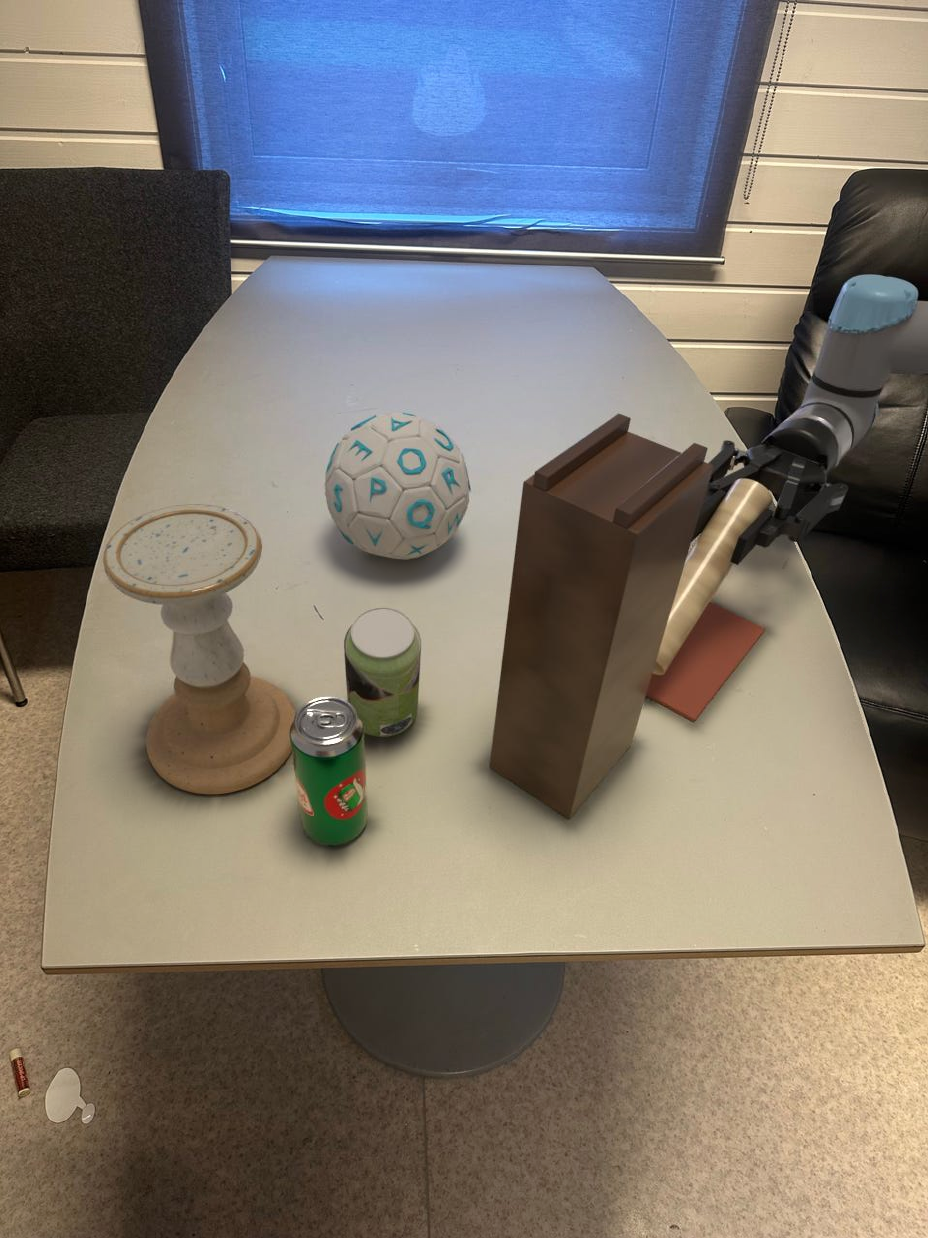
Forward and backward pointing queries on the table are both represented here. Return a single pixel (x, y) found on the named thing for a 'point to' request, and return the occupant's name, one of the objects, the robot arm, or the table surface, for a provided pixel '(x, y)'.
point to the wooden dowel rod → (710, 563)
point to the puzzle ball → (397, 486)
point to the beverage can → (383, 670)
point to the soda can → (330, 770)
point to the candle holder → (203, 647)
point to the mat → (704, 661)
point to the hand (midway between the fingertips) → (714, 540)
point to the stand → (590, 606)
